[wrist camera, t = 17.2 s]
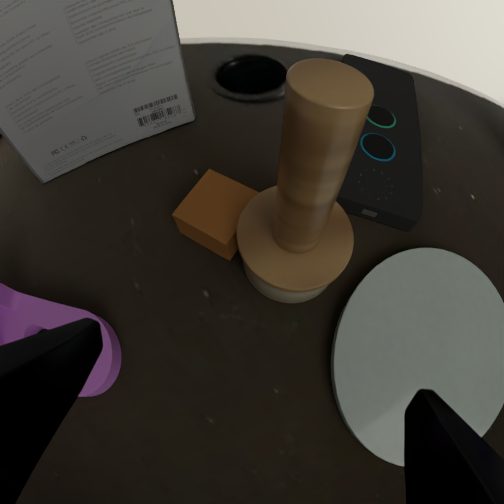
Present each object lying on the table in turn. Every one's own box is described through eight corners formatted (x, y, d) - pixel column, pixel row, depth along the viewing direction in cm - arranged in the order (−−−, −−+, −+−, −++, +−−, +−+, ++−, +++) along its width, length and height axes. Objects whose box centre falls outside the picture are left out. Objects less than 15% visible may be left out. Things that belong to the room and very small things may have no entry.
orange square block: (229, 261, 20) (226, 245, 18) (180, 232, 21) (171, 214, 18) (261, 214, 21) (262, 193, 19) (213, 190, 22) (209, 168, 20)
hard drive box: (178, 80, 28) (147, -96, 10) (198, 122, 25) (162, -104, 7) (44, 136, 26) (-36, -10, 7) (40, 188, 23) (-76, 20, 4)
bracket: (-14, 352, 17) (-75, 333, 10) (0, 288, 19) (-57, 255, 13) (114, 406, 16) (49, 412, 10) (128, 322, 18) (71, 290, 12)
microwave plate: (483, 466, 13) (489, 467, 12) (297, 447, 15) (299, 450, 14) (512, 282, 19) (518, 278, 18) (358, 225, 21) (361, 220, 20)
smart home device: (311, 187, 20) (343, 51, 27) (307, 201, 22) (340, 63, 29) (424, 223, 19) (414, 74, 26) (414, 234, 20) (409, 85, 28)
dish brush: (356, 277, 19) (469, 130, 7) (269, 325, 18) (298, 202, 6) (305, 200, 22) (344, 26, 9) (222, 238, 20) (187, 57, 8)
